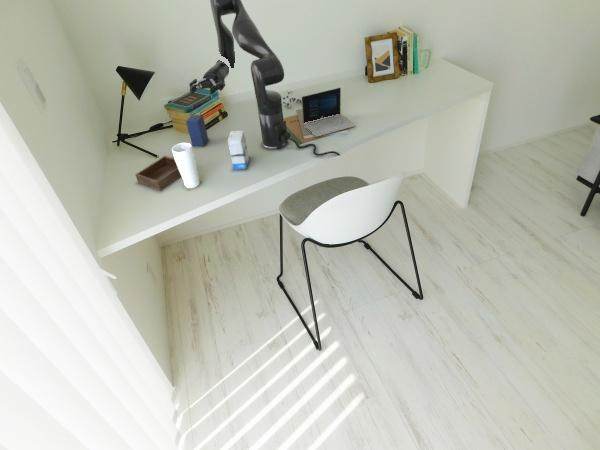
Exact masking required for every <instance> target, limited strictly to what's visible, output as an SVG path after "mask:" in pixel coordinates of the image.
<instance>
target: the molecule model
mask: <svg viewBox="0 0 600 450" xmlns="http://www.w3.org/2000/svg"><path fill="white" fill-rule="evenodd" d="M285 92H287V95H286V96H285V95H283V96H282V95H281V99H282V100H283V102H282V106H286V107H288V108H289V109H291V106H290V103H294V102H295V103H297V104H300V103H301V104H302V98H301V99H299V98H296V97H294V98H293V97H290V96H291V95H292V93H293V90H290V91H289V90H288V89H285ZM286 99H288V101H289V102H287V103H286V101H285V100H286Z"/></svg>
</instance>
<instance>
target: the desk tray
mask: <svg viewBox="0 0 600 450" xmlns="http://www.w3.org/2000/svg"><path fill="white" fill-rule="evenodd" d="M134 176H135V178H136V180H137V183H138V184H140V185H143V186H145V187H148V188H151V189H154V190H158V191H160V192H161V191H163V190H164V189H166V188H167V187H168V186H170V185H172V184H173V183H174V182H176V181H177V180H178V179H180V178H182V177H181V174H180V172H179V169H178V167H177V165H176V162H175V159H174V157H170V156H168V155H163V156H161V157H160V158H159V159H157V160H155V161H154V162H152V163H151V164H149V165H148V166H146V167H144V168H143V169H142V170H140V171H139V172H136V174H134Z"/></svg>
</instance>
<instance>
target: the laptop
mask: <svg viewBox="0 0 600 450" xmlns="http://www.w3.org/2000/svg"><path fill="white" fill-rule="evenodd" d="M301 110H302V111H301V112H302V123H305V122H308V121H313V120H317V119H320V118H324V117H328V116H332V115H336V114H340V115H337V116H333V117H329V118H326V119H322V120H318V121H314V122H311V123H309V122H308V123H307V124H303V128H305V129H306V128H309V130H311V132H312V133H311V132H310V133H311V134H312V136H314V137H316V138H317V137H318V138H319V137H322V136H325V135H328V134H332V133H336V132H339V131H343V130H346V129H350V128H353V127H355V124H353V123H351V122H350V121H349V120H348V119H347V118H345V117H344V116H343V115H341V87H336V88H332V89H328V90H324V91H319V92H315V93H312V94H311V93H310V94H307V95H303V96H301ZM309 130H308V131H309Z"/></svg>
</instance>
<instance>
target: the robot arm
mask: <svg viewBox="0 0 600 450" xmlns="http://www.w3.org/2000/svg"><path fill="white" fill-rule="evenodd" d="M209 3H210V8H211V13H212V18H213V23H214V27H215V32H216V37H217V49H218V48H219V49H218V53H219V52H220V53H219V55H220V54H221V56H223V57H225V58H226V59H228V61H229V63H230V66H231V68H234V63H235V53H236V50H235V41H236V44H237V45H238V47H239V48H240V49H242V50H243V52H245V53H248V54H249V55H251V56H254V57H256V58H257V59H254V60H252V61H251V63H250V74H251V79H252V84H253V88H254V89H253V91H254V94H255V101H256V105H257V113H258V120H259V126H260V134H261V140H262V147H263V148H265V149H267V150H281V149H282V148H284V146H286V145H287V144H288V143H289V141H291V142H292V143H294V145H295V146H296V147H297V148H298V149H305V148H308V147H313V151H312V153H313V154H314V155H315V156H321V157H322V156H324V155H329V154H334V155H337V156H339V157H340V156H341V154H340V153H339V152H337V151H335V150H329V151H326V152H320V153H317V152H316V149H317V146H316V144H315V143H308V144H305V145H302V146H301V145H299V144H298V142H297V141H296V140H295V139H293V138H291V137H292V136H291V131H288V130H287V121H286V120H284V113H283V102H282V100H283V99H282V98H281V96H282V95H281V93H279V92H278V91H274V90H268V89H266V87H268V86H273V85H276V84H279V83H281V82H282V81H284V78H285V69H284V67H283V64H282V62H281V60H280V59H279V57H278V56H277V54H276V53H275V52H274V51H273V50H272V48H271V47H270V45H268V43H267V42H266V40H265V39H264V37H263V36H262V34H261V32H260V31H259V29H258V27H257V26H256V24H255V22H254V21H253V20H252V18H251V16H250V15H249V13H248V11H247V10H246V7H245V6H244V4H243V2H242V0H209ZM232 14H233V15H235V16H234V19H233V22H232V26H231V30H230V29H229V28H228V26H227V25H226V24H225V22H224V21H223V19H222V16H227V15H232ZM234 50H235V51H234ZM215 63H216V64H214V65H213V66H211V67H210V68H209V69H208V70H207V71H206V72H204V74H203V76H202V78H201V79H200V80H198V79H197V78H194V79H193V80H192V81H191V82H189V83H188V85H189V91H190V94H191V95H194V94H195V93H196V92H197V91H202V90H207V89H209V93H210V95H214V94H215V93H216V92H218V91H223V90H224V88H225V87H226V82H225V80H226V78H227V77H228V75H229V74H230V73H229V67H228V66H227V65H226V64H225V63H224V62H222V61H220V60H218V61H217V62H216V61H215ZM288 140H289V141H288Z"/></svg>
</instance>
